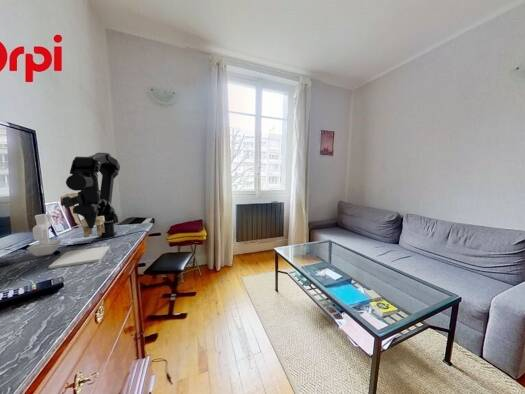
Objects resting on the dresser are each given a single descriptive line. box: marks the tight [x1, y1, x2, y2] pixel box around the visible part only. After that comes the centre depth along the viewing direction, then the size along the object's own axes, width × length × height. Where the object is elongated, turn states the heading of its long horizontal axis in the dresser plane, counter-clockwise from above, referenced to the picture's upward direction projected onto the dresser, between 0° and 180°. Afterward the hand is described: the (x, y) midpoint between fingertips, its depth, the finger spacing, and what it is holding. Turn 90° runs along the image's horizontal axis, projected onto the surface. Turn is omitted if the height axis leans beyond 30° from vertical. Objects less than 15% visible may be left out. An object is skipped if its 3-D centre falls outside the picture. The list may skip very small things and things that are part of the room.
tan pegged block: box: [80, 216, 105, 238], centre depth 83 cm, size 6×6×7 cm
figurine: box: [26, 213, 62, 257], centre depth 76 cm, size 7×9×15 cm
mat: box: [48, 245, 110, 270], centre depth 73 cm, size 13×13×1 cm
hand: (94, 226), depth 83 cm, fingers closed on tan pegged block, 6 cm apart
